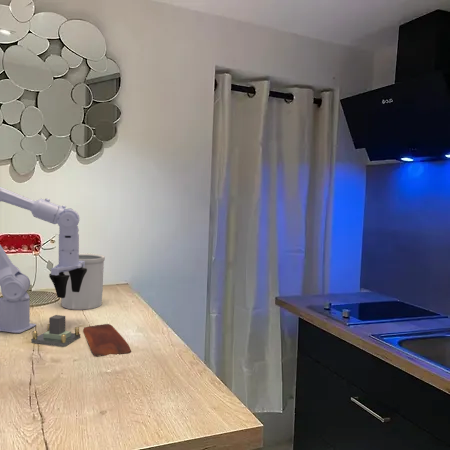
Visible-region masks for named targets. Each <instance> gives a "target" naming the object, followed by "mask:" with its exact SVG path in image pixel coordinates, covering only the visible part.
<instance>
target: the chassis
mask: <svg viewBox="0 0 450 450" xmlns="http://www.w3.org/2000/svg"><path fill="white" fill-rule="evenodd" d="M46 325H47V326H46V327H47V328H46V332H47V331H49V323H47V324H46ZM80 338H81V333H80V326H75V327H74V332H71V336H70V337H68V338H66V334H62V335H61V340H57V339H49V338H43V333H40V334H39V335H38V330H33V331H32V338H31V339H30V340H31V342H30V343H32V344H36V345H37V344H39V345H46V346H52V347H54V346H55V347H61V348H66V347H67V346H68V345H70V344H71V343H74V342H75V341H77V340H79V339H80Z"/></svg>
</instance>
